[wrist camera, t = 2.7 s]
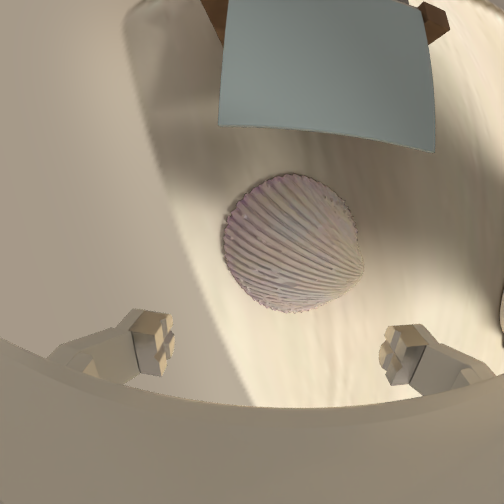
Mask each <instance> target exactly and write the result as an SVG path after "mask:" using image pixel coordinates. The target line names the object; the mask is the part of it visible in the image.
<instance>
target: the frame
mask: <svg viewBox="0 0 504 504" xmlns="http://www.w3.org/2000/svg"><path fill="white" fill-rule="evenodd" d="M200 1H201V2H202V4H203V6H204V8H205V10H206V12H207V14H208V16H209V18H210V21H211V23H212V25H213V27H214V29H215V31H216V33H217V35H218V37H219V39H220V41H221V44H222V46H223V48H224V39H225V29H226V20H227V11H228V3H229V0H200ZM418 9H419V10H420V11H421V14H422V18H423V22H424V27H425V32H426V37H427V42H428V45H429V44H431V43H432V42H434V41H435V40H436V39H438V38H439V37H441V36H442V35H443V34H445V33H446V32H448V31H449V30H450V27H449V23H448V20H447V16H446V13H445V11H444V10H441V9H439V8H437V7H435V6H433V5H431V4H428V3H426V2H423V3H422V4H421V5H420V6H419V7H418Z"/></svg>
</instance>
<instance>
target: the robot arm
mask: <svg viewBox="0 0 504 504" xmlns="http://www.w3.org/2000/svg"><path fill="white" fill-rule="evenodd" d="M500 324H501V328H502V331H503V333H504V291H503V296H502V301H501V307H500ZM172 326H173V320H172V316H171V314H167V313H161V312H154V311H148V310H143V309H132V310H131V311H130V312H129V313H128V314H127V315H126V316H125V317H124V319H123V320H122V321H121V322H120V323H119V324H118V325H117V327H115V328H108V329H105V330H103V331H100V332H97V333H94V334H91V335H88V336H85V337H82V338H79V339H76V340H73V341H70V342H67V343H63V344H61V345H59V346H58V347H57V348H56V349H55V350H54V351H53V352H52V353H51V354H50V355H49V356H48V357H47V358H43V357H41V356H39V355H36V354H34V353H32V352H30V351H28V350H25V349H23V348H21V347H19V346H17V345H15V344H13V343H11V342H9V341H7V340H5V339H3V338H1V337H0V504H504V374H501V375H498V376H496V375H495V374H494V373H493V372H492V371H491V369H490V368H489V367H488V366H487V365H486V364H485V363H484V362H481V361H479V360H477V359H475V358H473V357H471V356H468V355H466V354H464V353H462V352H460V351H457V350H455V349H453V348H451V347H449V346H447V345H444V344H439V343H438V342H437V340H436V339H435V338H434V337H433V336H432V335H431V334H430V332H429V331H428V330H427V329H426V328H425V327H424V326H423V325H422V324H412V325H397V326H388V328H387V329H386V332H385V335H384V336H385V339H386V341H385V342H384V343H383V344H382V345H381V347H380V351H379V362H380V365H381V367H382V368H383V369H385V370H386V371H387V372H386V374H385V375H386V377H387V379H388V381H389V383H390V385H391V386H394V385H404V384H409V385H410V386H411V387H413V388H414V389H415V390H416V391H418V392H419V393H420V394H421V395H423V396H422V397H416V398H411V399H405V400H399V401H392V402H385V403H377V404H368V405H358V406H345V407H327V408H273V407H254V406H239V405H230V404H221V403H212V402H205V401H198V400H192V399H185V398H180V397H174V396H169V395H164V394H159V393H154V392H150V391H145V390H141V389H137V388H133V387H129V386H125V385H124V384H125V383H127V382H128V381H130V380H131V379H133V378H135V377H136V376H137V375H139V374H140V373H143V374H148V375H154V376H159V377H161V376H162V375H163V373H164V371H165V369H166V367H167V361H166V360H168V359H170V358H171V356H172V354H173V351H174V344H175V339H174V334H173V333H172V331H171V330H170V329H171V327H172Z"/></svg>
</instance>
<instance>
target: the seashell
mask: <svg viewBox="0 0 504 504" xmlns="http://www.w3.org/2000/svg"><path fill="white" fill-rule="evenodd" d="M344 203H345V200H342V198H339V197H338V196H337V195H336V193H335V192H334V191H331V189H330V188H329V187H328V186H327V185H325V186H324V185H323V184H322V183H321V182H319V181H318V182H316V181H314V180H313V179H312V178H310V179H309V178H307V177H306V176H304V175H302V176H299V175H297V174H293V175H289V174H286V175H284V177H280V176H277V177H274V178H273V179H272V180H268V181H264V183H263V184H261V185H259V186H258V187H255V188H253V189H252V191H251V192H250V194H247V193H246V194H245V195H244V198H243V200H241V201H238V203H237V204H236V206H237V208H236V209H235V210H233V211H232V212H231V214H232V217H230V216H228V219H227V222H228V224H229V225H227V227H226V228H225V229H224V230H225V233H226V234H225V236H224V237H223V239H224V242H225V244H224V246H223V247H224V250H225V251H226V253H225V257H226V259H227V260H228V263H227V266H228V267H229V268H230V270H231V273H232V275H234V278H235V280H236V281H237V282H239V285H240V286H241V288H243V289H244V290H245V292H246V293H247V294H249V295H250V296H251V297H252V298H253V300H254V301H255V300H256V301H257V302H259V304H260V305H261V304H263V305H264V306H265V307H266V308H269V307H270V308H271V309H272V310H274V311H275V310H278V311H281V312H284V313H287V312H289V313H291V312H293V313H294V314H295V313H297V312H301V313H302V312H303V311H309V310H310V309H313V308H314V309H317V307H318V306H322V305H323V304H326V303H328V302H330V301H332V300H334V299H336V298H338V297H340V296H342V295H343V294H345V293H346V292H348V291H349V290H350V289H351V288H353V287H354V286H355V285H356V284H357V282H358V281H359V280H360V278H361V277H362V274H363V271H364V266H363V258H362V256H361V254H360V250H359V246H358V244H357V240H358V239H357V238H356V233H358V231H357V228H354V226H355V225H356V223H355V222H354V221H353V220H352V219H353V216H352V215H351V212H350V210H349V209H348V207H346V206H345V204H344ZM347 209H348V210H347Z"/></svg>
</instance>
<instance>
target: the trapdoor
mask: <svg viewBox="0 0 504 504" xmlns="http://www.w3.org/2000/svg"><path fill="white" fill-rule="evenodd" d="M218 126H220V127H257V128H277V129H291V130H302V131H312V132H321V133H330V134H337V135H344V136H351V137H357V138H363V139H369V140H374V141H380V142H385V143H390V144H394V145H399V146H403V147H408V148H412V149H416V150H420V151H424V152H428V153H435V103H434V88H433V78H432V69H431V61H430V54H429V48H428V42H427V37H426V32H425V27H424V22H423V18H422V14H421V11H420V10H419V9H418V8H417V7H414V6H411V5H409V2H408V0H229V3H228V11H227V20H226V29H225V39H224V50H223V61H222V72H221V85H220V99H219V114H218Z"/></svg>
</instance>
